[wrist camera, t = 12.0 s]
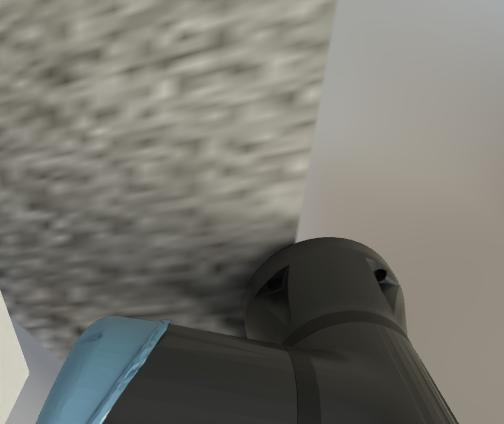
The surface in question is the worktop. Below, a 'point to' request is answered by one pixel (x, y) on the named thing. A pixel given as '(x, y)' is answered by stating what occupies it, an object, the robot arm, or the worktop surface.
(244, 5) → the worktop surface
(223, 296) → the worktop surface
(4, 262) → the worktop surface
